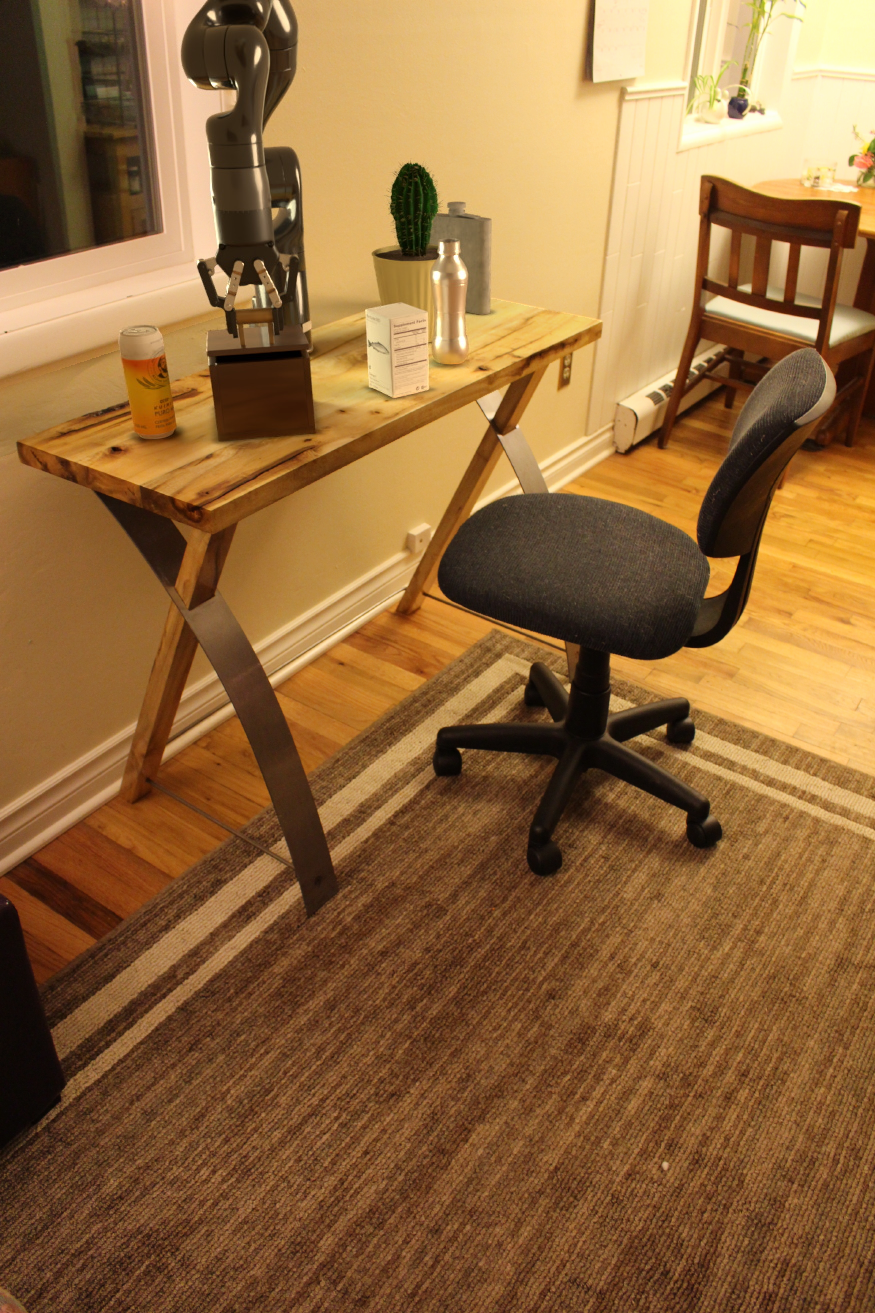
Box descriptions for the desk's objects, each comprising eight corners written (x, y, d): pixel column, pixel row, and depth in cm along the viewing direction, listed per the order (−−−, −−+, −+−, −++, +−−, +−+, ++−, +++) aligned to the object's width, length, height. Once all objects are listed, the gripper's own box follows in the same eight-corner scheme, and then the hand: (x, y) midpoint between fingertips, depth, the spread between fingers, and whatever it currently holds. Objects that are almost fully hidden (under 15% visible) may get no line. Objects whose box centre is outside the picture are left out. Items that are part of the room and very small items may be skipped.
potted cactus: (358, 334, 193) (348, 159, 177) (419, 319, 202) (415, 150, 185) (412, 351, 183) (407, 167, 167) (474, 334, 192) (474, 158, 176)
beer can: (167, 441, 148) (149, 336, 140) (128, 439, 149) (108, 334, 141) (184, 426, 153) (168, 324, 144) (146, 424, 154) (128, 323, 146)
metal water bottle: (442, 370, 174) (441, 246, 163) (424, 360, 179) (422, 239, 168) (475, 364, 176) (476, 241, 165) (457, 355, 181) (456, 234, 170)
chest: (316, 432, 150) (309, 357, 144) (219, 441, 147) (208, 365, 142) (306, 400, 162) (300, 329, 156) (217, 407, 160) (207, 336, 154)
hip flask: (418, 305, 211) (415, 200, 200) (428, 301, 214) (426, 197, 203) (485, 315, 204) (486, 206, 193) (495, 310, 207) (496, 203, 196)
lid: (309, 349, 142) (305, 307, 140) (207, 356, 140) (201, 314, 137) (300, 329, 156) (297, 290, 153) (207, 335, 154) (202, 296, 151)
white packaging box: (367, 387, 167) (363, 308, 160) (405, 378, 170) (402, 300, 163) (392, 399, 162) (388, 317, 155) (430, 390, 165) (429, 310, 158)
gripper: (294, 196, 138) (305, 325, 147) (186, 201, 135) (203, 331, 144) (299, 205, 131) (310, 339, 140) (185, 210, 129) (203, 346, 138)
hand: (256, 334), depth 142 cm, fingers closed on lid, 5 cm apart
